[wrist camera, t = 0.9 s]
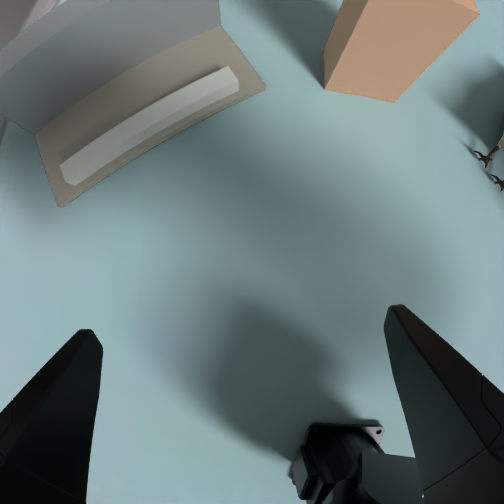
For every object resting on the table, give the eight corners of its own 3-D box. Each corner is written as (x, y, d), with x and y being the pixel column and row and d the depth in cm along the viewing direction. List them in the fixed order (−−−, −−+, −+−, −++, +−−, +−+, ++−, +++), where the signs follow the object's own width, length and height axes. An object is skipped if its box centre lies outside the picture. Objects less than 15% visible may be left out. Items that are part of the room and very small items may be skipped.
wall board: (265, 89, 22) (275, 16, 14) (63, 207, 22) (-10, 186, 13) (202, 7, 22) (192, -63, 14) (31, 108, 22) (-26, 67, 13)
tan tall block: (393, 102, 23) (494, -1, 8) (324, 89, 23) (391, -47, 8) (388, 65, 23) (470, -43, 8) (322, 51, 23) (375, -82, 8)
